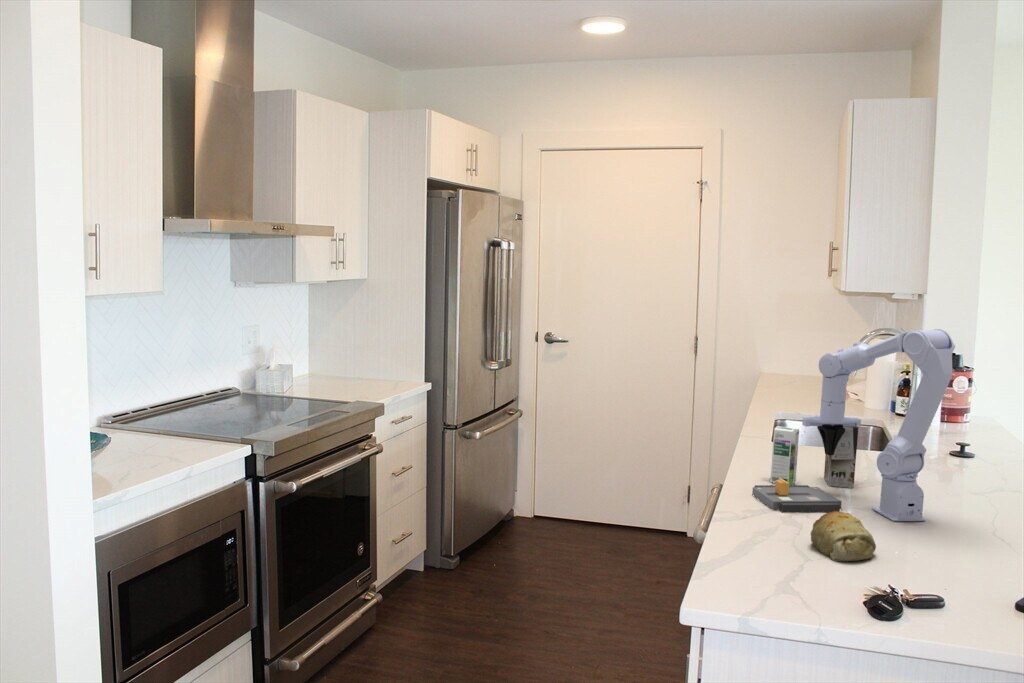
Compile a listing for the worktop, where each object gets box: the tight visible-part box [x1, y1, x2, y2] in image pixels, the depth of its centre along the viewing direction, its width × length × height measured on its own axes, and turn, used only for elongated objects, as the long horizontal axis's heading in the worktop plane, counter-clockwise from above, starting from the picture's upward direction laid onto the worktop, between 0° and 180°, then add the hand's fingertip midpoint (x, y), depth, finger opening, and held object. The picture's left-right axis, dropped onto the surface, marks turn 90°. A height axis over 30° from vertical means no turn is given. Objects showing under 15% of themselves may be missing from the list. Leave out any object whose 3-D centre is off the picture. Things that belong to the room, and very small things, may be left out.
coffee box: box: [823, 423, 860, 489], centre depth 226 cm, size 9×6×16 cm
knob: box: [774, 478, 789, 495], centre depth 206 cm, size 3×2×3 cm, turn 7°
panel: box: [751, 486, 843, 511], centre depth 207 cm, size 12×17×2 cm
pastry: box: [810, 511, 877, 562], centre depth 173 cm, size 14×12×8 cm
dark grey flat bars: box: [754, 484, 841, 513], centre depth 207 cm, size 16×14×2 cm
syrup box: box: [769, 425, 800, 485], centre depth 225 cm, size 6×6×14 cm
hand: (829, 454), depth 216 cm, fingers closed
